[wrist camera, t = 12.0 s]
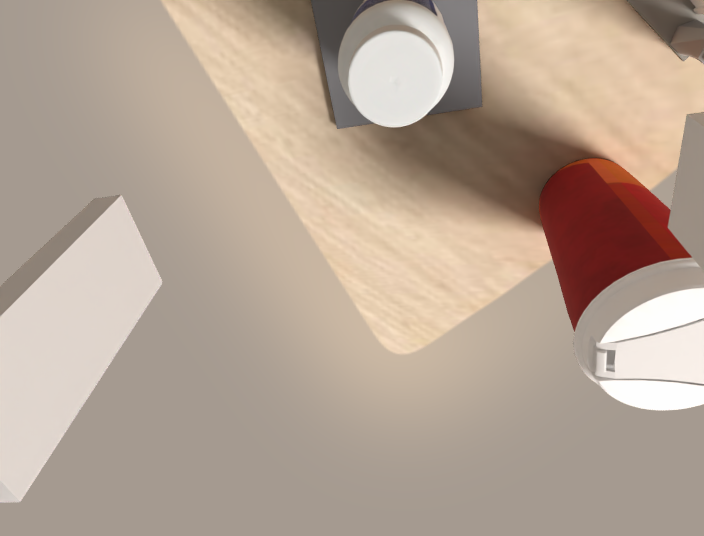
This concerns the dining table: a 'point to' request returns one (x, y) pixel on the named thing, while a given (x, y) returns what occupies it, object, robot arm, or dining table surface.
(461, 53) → the coaster
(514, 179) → the dining table surface
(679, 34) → the skyscraper
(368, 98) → the pill bottle
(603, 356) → the coffee cup
